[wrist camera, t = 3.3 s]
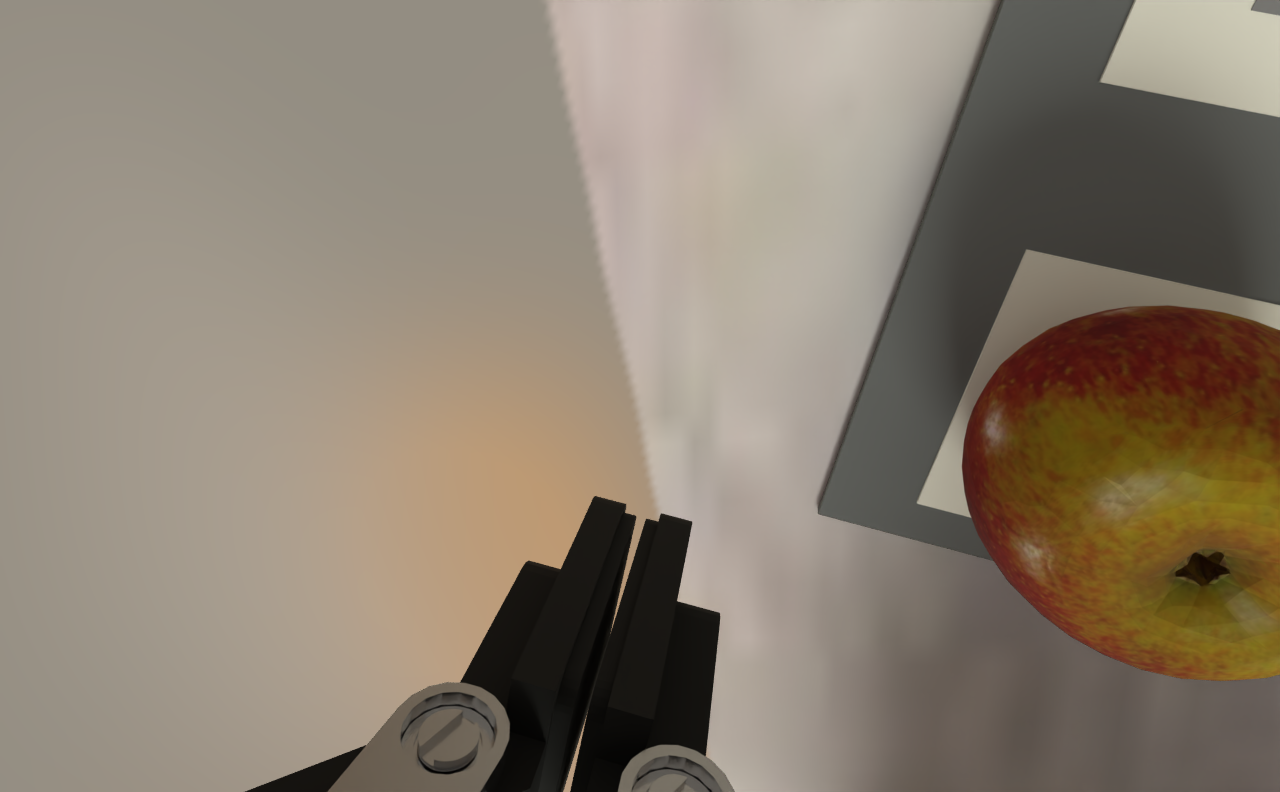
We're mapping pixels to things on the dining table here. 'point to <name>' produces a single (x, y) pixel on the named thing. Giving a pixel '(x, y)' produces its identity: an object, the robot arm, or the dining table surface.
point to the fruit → (1139, 486)
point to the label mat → (1068, 223)
